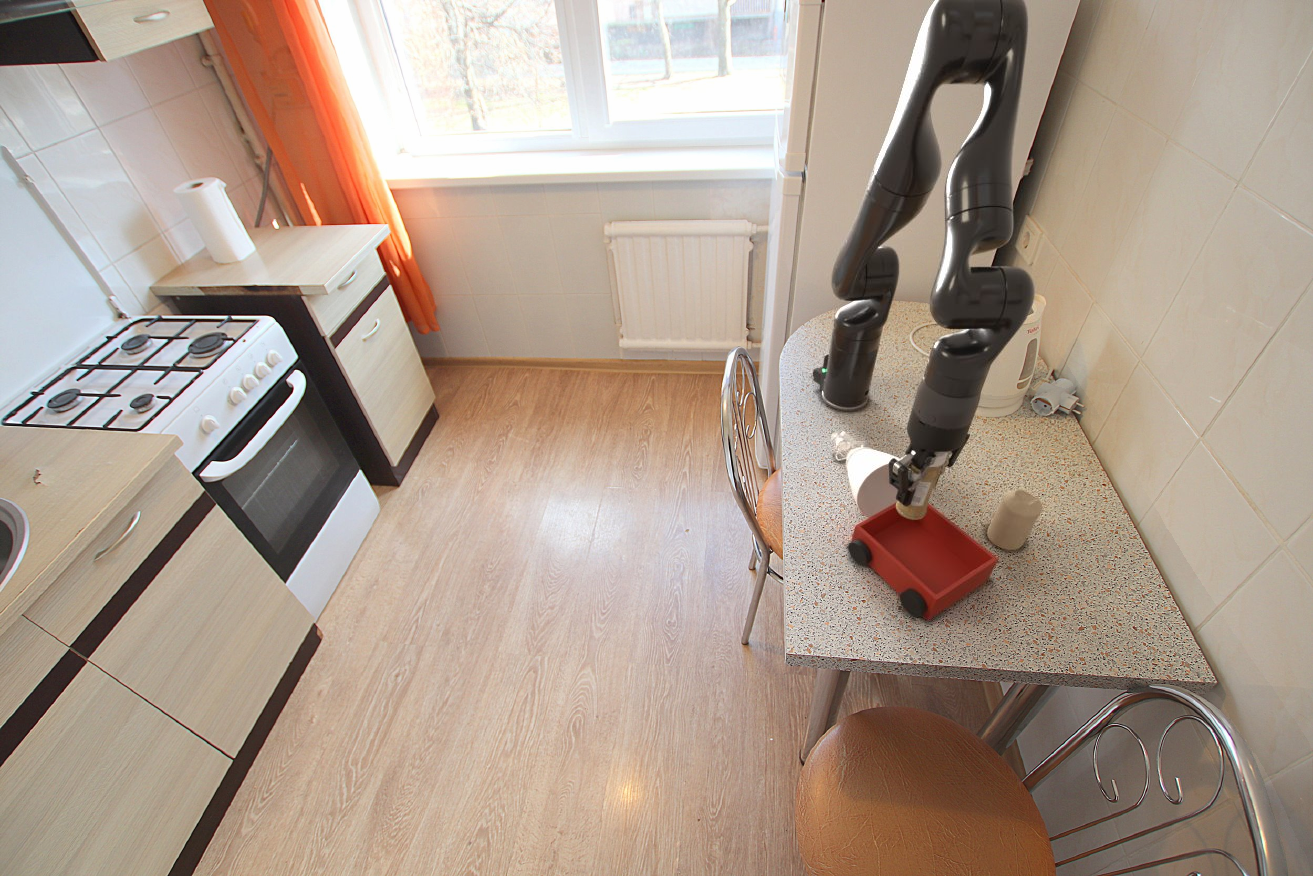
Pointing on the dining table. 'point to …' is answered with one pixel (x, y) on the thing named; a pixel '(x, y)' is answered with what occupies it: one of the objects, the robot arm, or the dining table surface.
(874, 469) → the rocket engine
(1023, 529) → the candle
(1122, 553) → the dining table surface
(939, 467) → the sprinkles bottle
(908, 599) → the cart wheels
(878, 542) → the cart
